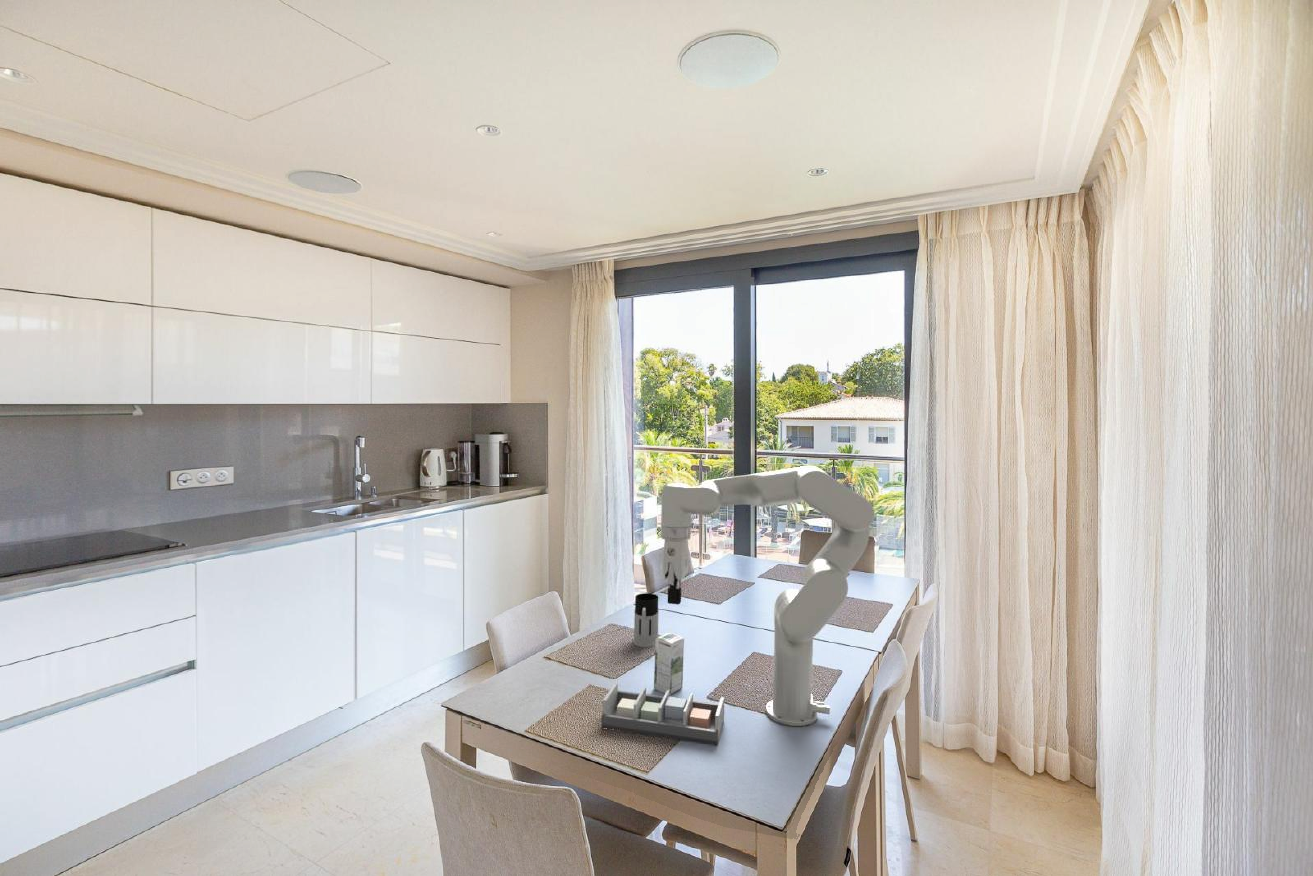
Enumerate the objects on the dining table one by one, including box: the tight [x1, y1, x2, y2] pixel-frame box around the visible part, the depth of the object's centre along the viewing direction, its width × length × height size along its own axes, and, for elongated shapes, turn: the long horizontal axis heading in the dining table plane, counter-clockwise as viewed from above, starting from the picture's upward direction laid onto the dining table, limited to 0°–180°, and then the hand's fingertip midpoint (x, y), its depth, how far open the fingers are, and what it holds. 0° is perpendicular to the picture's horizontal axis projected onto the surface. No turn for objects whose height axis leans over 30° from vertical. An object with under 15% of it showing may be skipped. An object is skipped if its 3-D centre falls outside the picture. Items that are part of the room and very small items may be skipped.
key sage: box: [641, 701, 660, 722], centre depth 151 cm, size 4×4×3 cm
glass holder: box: [632, 592, 659, 648], centre depth 200 cm, size 9×14×15 cm, turn 174°
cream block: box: [617, 698, 636, 718], centre depth 153 cm, size 4×4×3 cm
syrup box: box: [653, 632, 685, 696], centre depth 170 cm, size 6×6×14 cm
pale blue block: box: [665, 696, 688, 720], centre depth 150 cm, size 4×4×3 cm
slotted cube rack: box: [600, 682, 725, 747], centre depth 151 cm, size 28×11×7 cm, turn 76°
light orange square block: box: [690, 708, 711, 729], centre depth 149 cm, size 4×4×3 cm
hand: (674, 602), depth 159 cm, fingers closed
